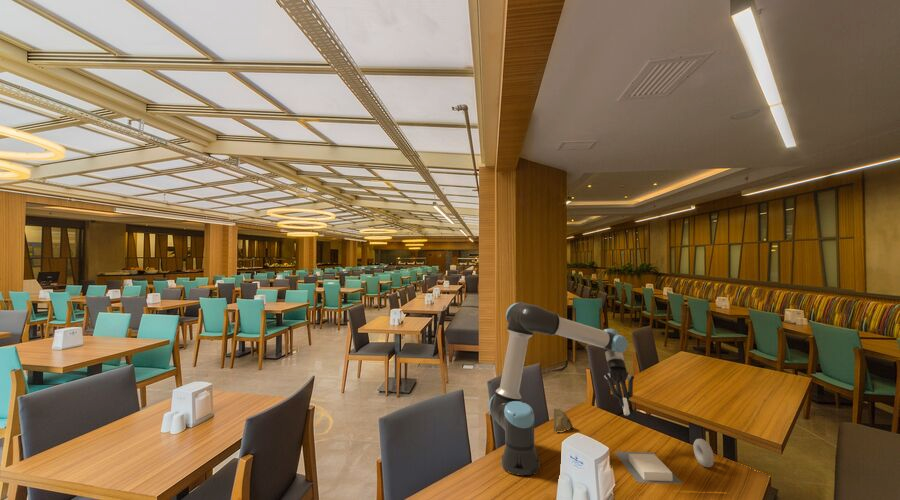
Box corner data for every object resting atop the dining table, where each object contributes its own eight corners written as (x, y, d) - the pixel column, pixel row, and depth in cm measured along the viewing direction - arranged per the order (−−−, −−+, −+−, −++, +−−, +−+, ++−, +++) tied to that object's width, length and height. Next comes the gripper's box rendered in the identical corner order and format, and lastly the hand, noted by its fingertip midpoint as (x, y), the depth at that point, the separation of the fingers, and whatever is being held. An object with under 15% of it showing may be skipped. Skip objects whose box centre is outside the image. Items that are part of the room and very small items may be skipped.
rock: (571, 420, 179) (551, 416, 181) (575, 410, 174) (554, 407, 176) (573, 441, 170) (552, 437, 172) (577, 432, 166) (555, 427, 167)
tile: (628, 453, 144) (644, 472, 131) (654, 454, 143) (672, 472, 130) (629, 461, 143) (644, 480, 130) (654, 462, 143) (672, 481, 130)
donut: (716, 473, 136) (715, 446, 136) (707, 472, 136) (705, 445, 136) (700, 459, 146) (699, 434, 146) (692, 458, 146) (690, 433, 146)
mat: (614, 453, 151) (614, 451, 151) (652, 453, 150) (652, 452, 150) (637, 484, 129) (637, 482, 129) (683, 485, 128) (683, 483, 128)
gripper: (627, 365, 169) (639, 418, 154) (599, 363, 170) (608, 415, 155) (632, 358, 163) (646, 413, 148) (603, 357, 164) (614, 410, 149)
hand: (627, 414), depth 151 cm, fingers closed
